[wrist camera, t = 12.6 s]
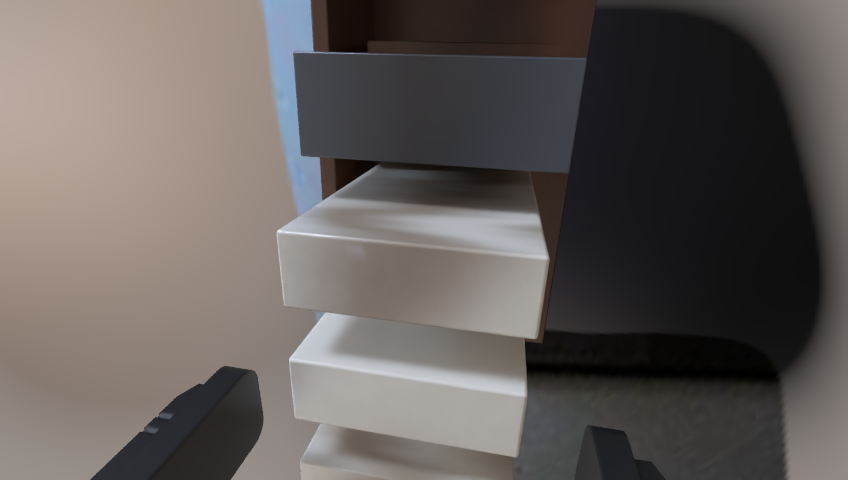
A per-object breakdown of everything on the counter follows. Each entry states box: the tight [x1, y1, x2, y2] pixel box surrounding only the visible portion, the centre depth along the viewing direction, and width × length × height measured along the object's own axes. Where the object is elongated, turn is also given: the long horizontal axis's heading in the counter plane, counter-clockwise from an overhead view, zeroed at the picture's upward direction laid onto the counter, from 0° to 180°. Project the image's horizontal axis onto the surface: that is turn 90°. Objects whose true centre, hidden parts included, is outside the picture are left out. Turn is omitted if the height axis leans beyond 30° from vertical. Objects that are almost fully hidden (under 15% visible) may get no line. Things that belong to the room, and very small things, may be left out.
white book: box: [289, 312, 528, 457], centre depth 16 cm, size 6×2×12 cm, turn 88°
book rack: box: [277, 0, 597, 480], centre depth 15 cm, size 10×22×13 cm, turn 178°
